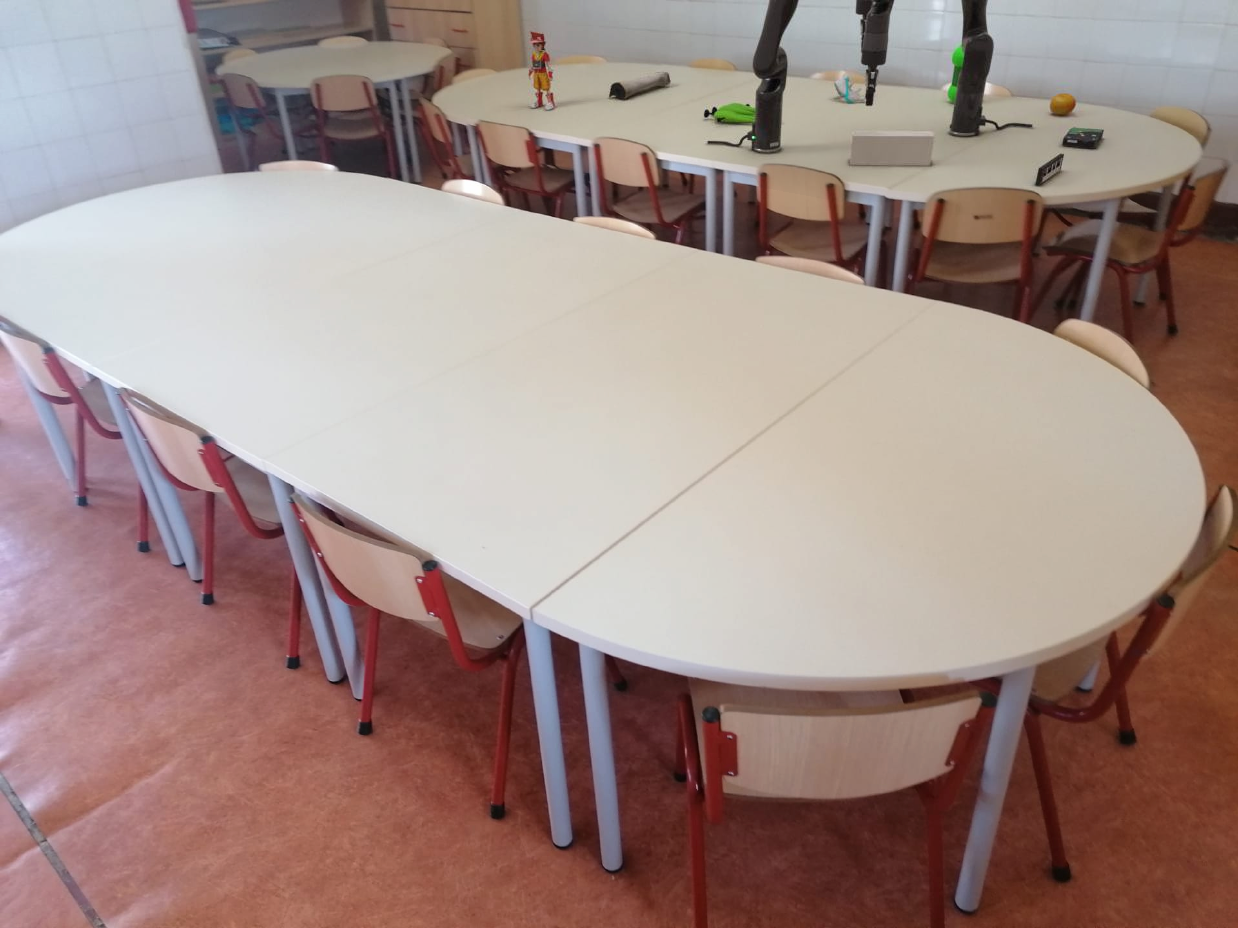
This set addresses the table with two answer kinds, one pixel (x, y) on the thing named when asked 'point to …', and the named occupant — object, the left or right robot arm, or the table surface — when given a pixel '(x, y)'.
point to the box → (891, 148)
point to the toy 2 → (733, 113)
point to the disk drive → (1083, 137)
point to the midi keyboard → (1049, 169)
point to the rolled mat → (638, 84)
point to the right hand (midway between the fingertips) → (864, 50)
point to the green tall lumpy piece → (956, 72)
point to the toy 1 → (541, 71)
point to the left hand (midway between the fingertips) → (868, 102)
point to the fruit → (1062, 104)
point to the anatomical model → (847, 90)
